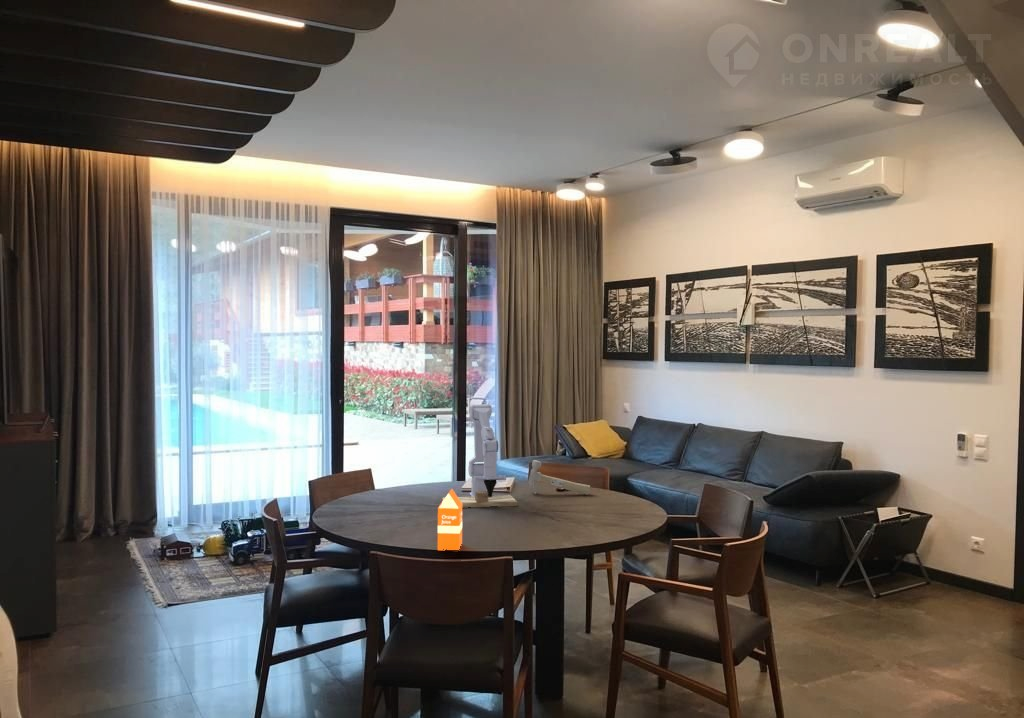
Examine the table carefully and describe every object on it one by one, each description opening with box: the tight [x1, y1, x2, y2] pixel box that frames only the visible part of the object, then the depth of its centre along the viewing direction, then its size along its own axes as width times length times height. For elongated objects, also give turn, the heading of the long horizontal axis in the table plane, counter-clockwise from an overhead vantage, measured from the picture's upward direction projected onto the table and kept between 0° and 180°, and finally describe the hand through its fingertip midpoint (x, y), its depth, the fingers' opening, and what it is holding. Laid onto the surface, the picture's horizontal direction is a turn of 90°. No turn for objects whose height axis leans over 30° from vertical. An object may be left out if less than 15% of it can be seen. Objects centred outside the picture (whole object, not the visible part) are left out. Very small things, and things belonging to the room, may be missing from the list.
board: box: [441, 494, 518, 509], centre depth 319 cm, size 14×32×2 cm, turn 102°
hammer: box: [527, 459, 591, 496], centre depth 343 cm, size 16×5×30 cm
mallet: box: [475, 490, 488, 502], centre depth 318 cm, size 10×5×4 cm, turn 12°
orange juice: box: [437, 488, 463, 551], centre depth 247 cm, size 8×9×20 cm
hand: (489, 496), depth 316 cm, fingers closed
